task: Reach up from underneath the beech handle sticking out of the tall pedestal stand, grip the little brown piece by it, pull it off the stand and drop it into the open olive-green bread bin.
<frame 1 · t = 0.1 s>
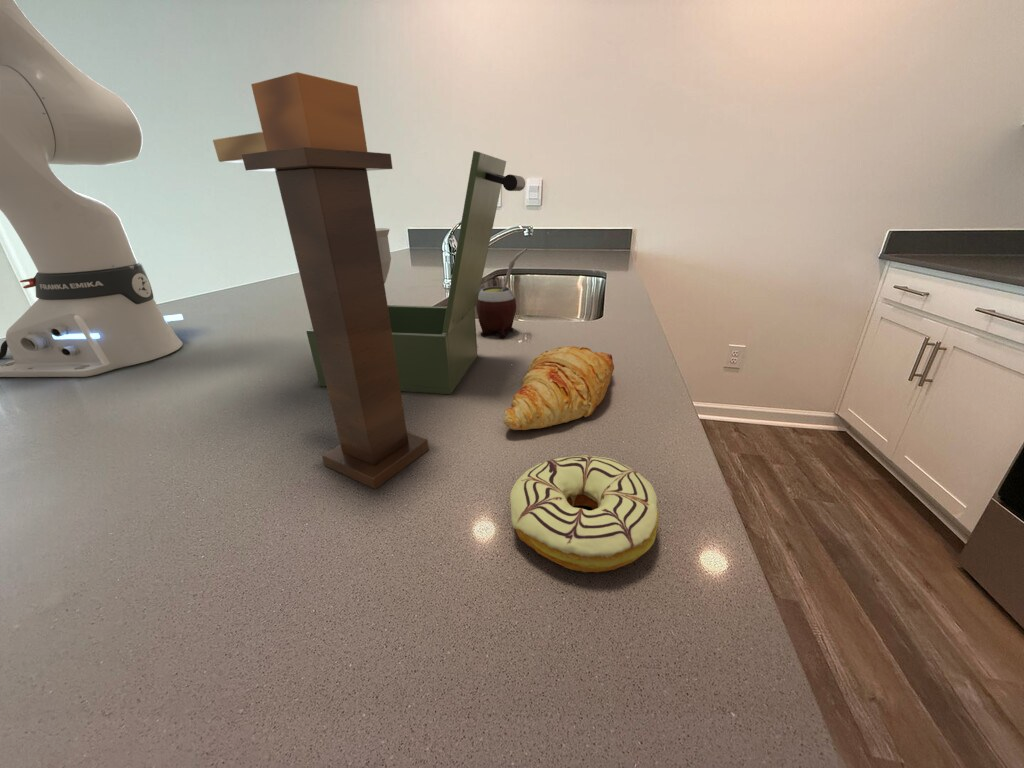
croissant: (562, 402, 50), on the countertop
brown piece: (297, 156, 30), point 26 cm above the countertop, touching pedestal stand
bin lid: (489, 248, 50), point 17 cm above the countertop, hinge at 105.0°
decorated donut: (581, 526, 31), on the countertop
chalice: (385, 333, 76), on the countertop
mate gourd: (500, 334, 74), on the countertop
pedestal stand: (378, 457, 40), on the countertop
bread bin: (404, 369, 60), on the countertop
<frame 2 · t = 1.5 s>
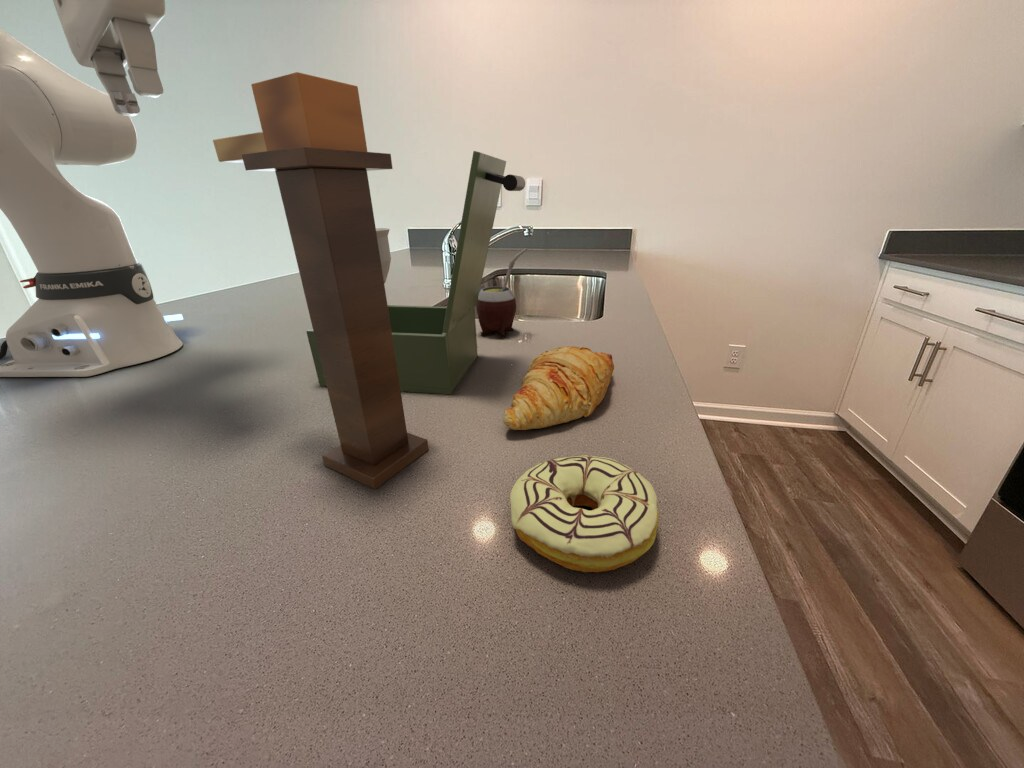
hand: (139, 105, 38), 31 cm above the countertop, tool pointing down, fingers open, 8 cm apart
nothing on the countertop moved.
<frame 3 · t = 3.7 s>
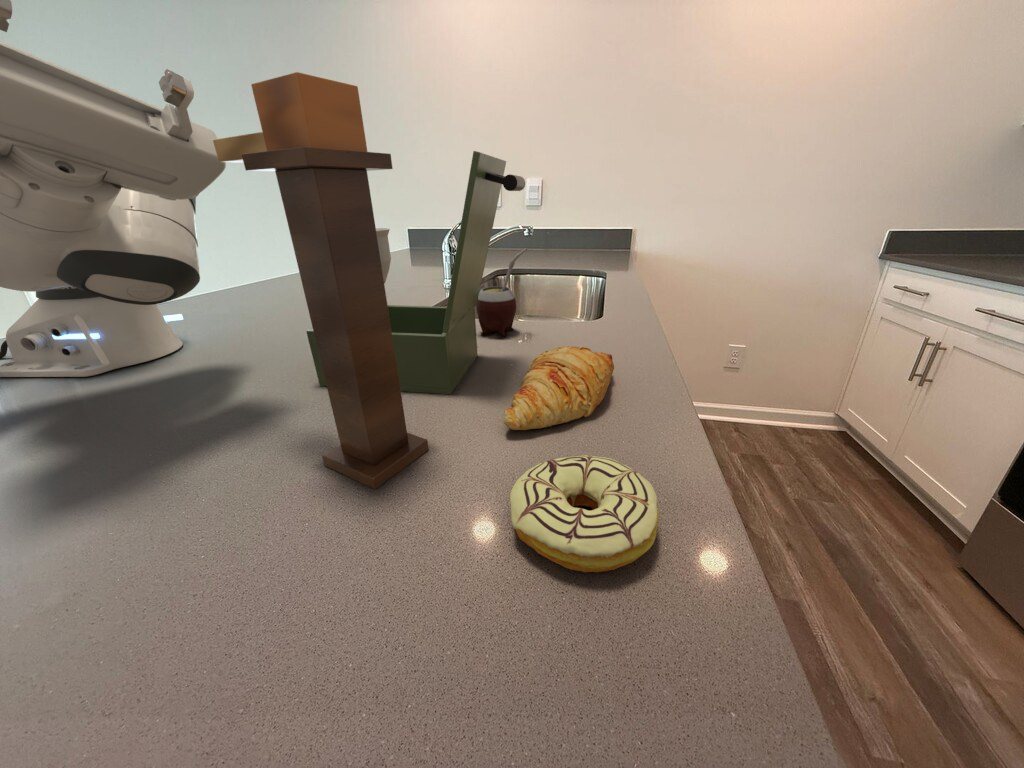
hand: (100, 41, 28), 33 cm above the countertop, tool pointing upward, fingers open, 8 cm apart
nothing on the countertop moved.
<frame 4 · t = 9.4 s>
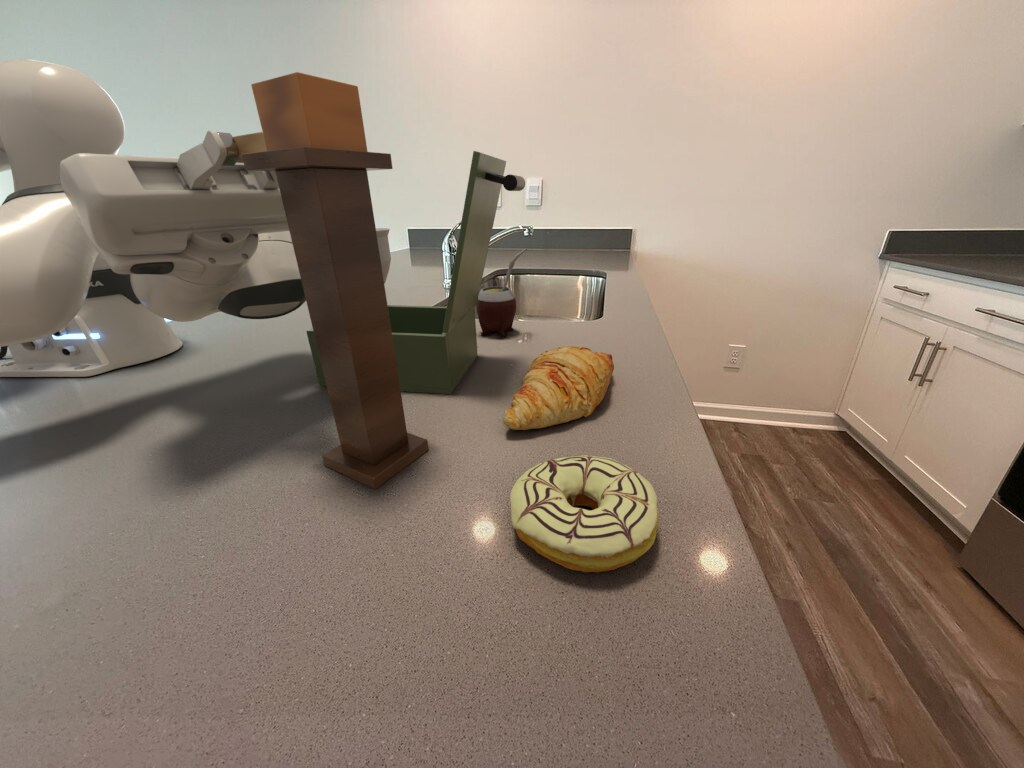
hand: (249, 142, 32), 27 cm above the countertop, tool pointing upward, fingers closed on brown piece, 2 cm apart
brown piece: (297, 156, 30), point 26 cm above the countertop, touching gripper, pedestal stand
everything else where it was.
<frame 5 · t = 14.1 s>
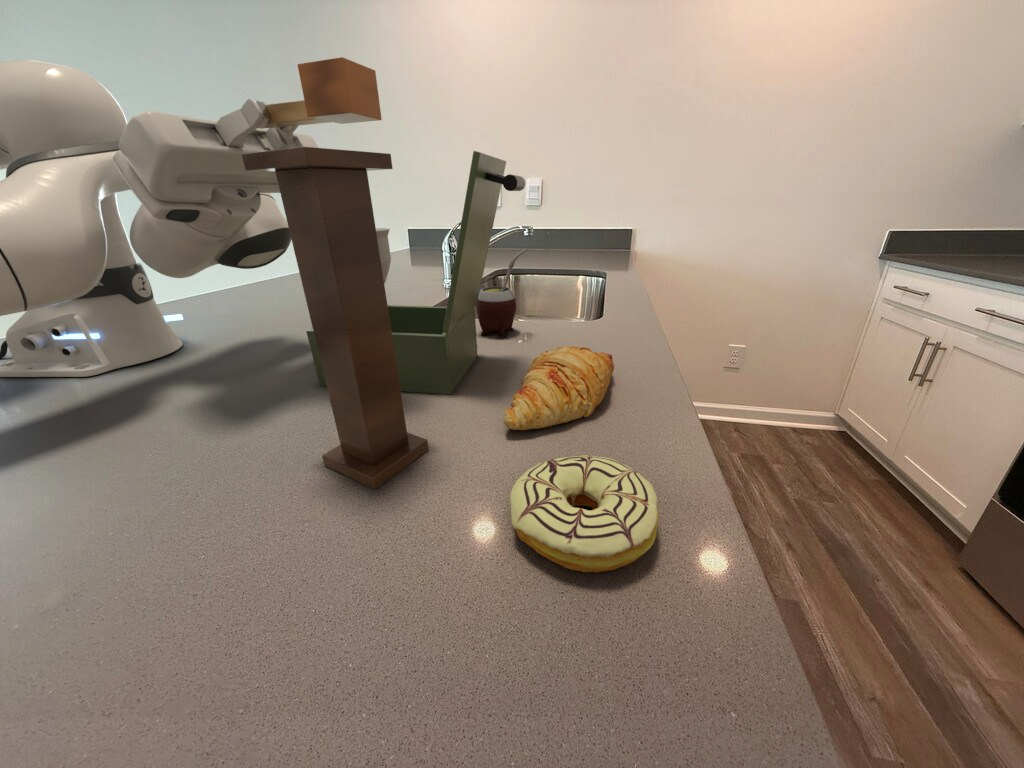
hand: (276, 110, 41), 31 cm above the countertop, tool pointing upward, fingers closed on brown piece, 2 cm apart
brown piece: (324, 120, 40), point 30 cm above the countertop, touching gripper
everything else where it was.
when the fingers open (19 cm above the countertop, at t = 19.1 s): brown piece drops 17 cm, resting on bread bin.
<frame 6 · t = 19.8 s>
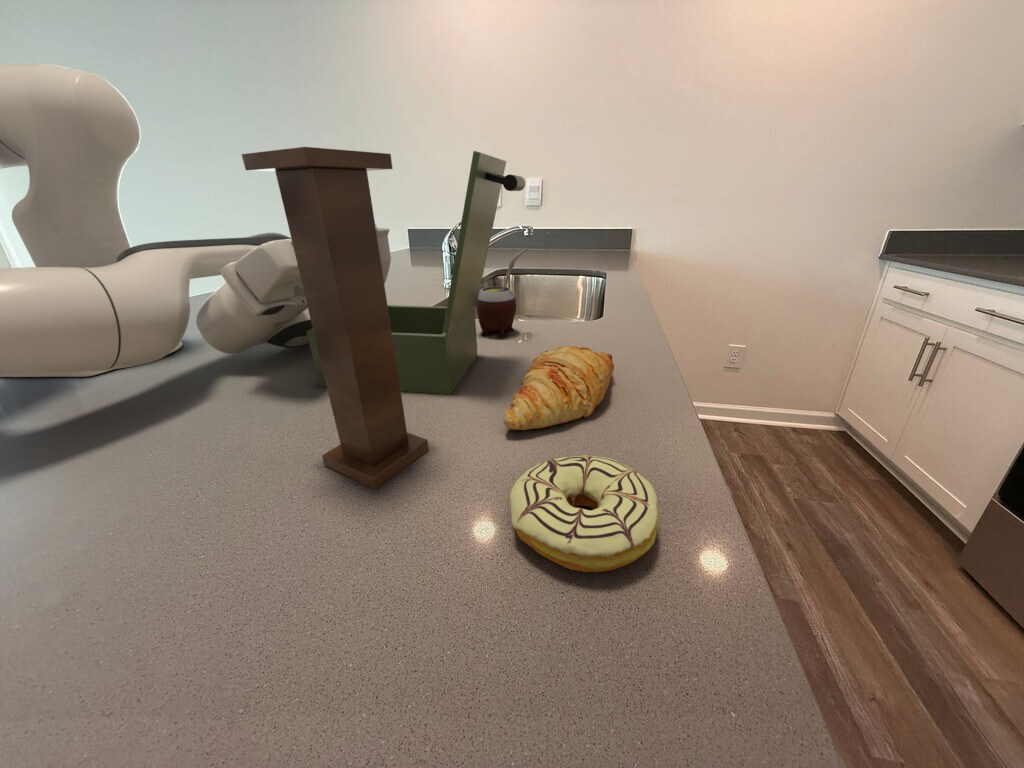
hand: (355, 226, 51), 20 cm above the countertop, tool pointing upward, fingers open, 8 cm apart
brown piece: (404, 369, 58), point 1 cm above the countertop, touching bread bin
everything else where it was.
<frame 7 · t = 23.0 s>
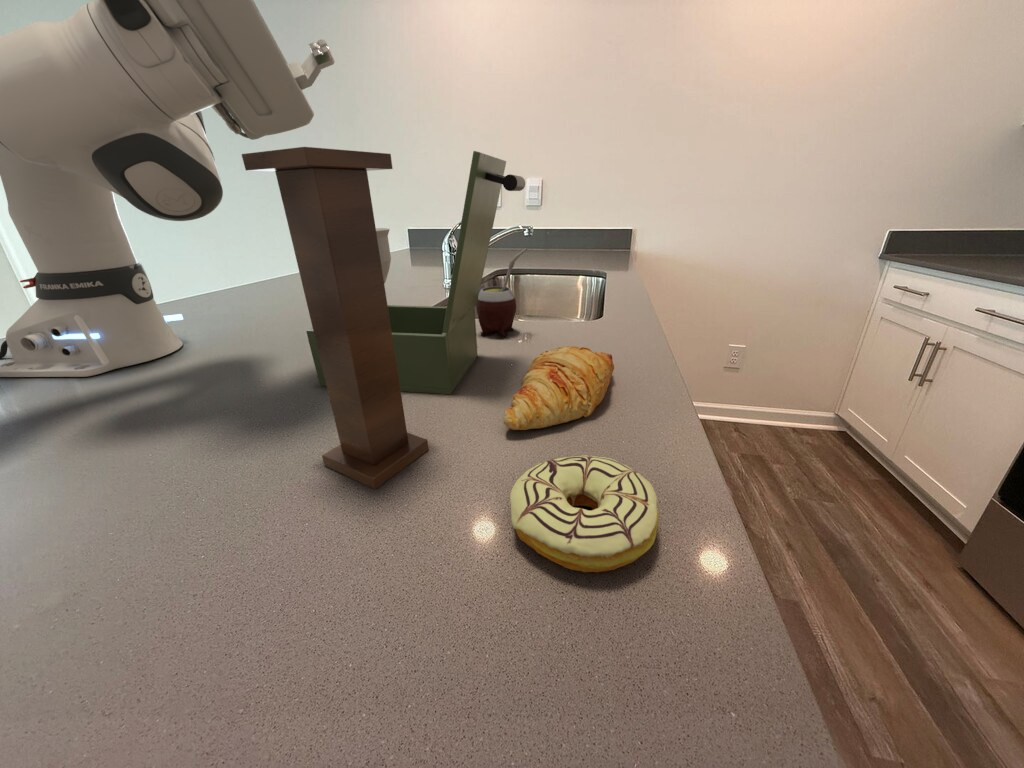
hand: (308, 0, 39), 40 cm above the countertop, tool pointing upward, fingers open, 8 cm apart
nothing on the countertop moved.
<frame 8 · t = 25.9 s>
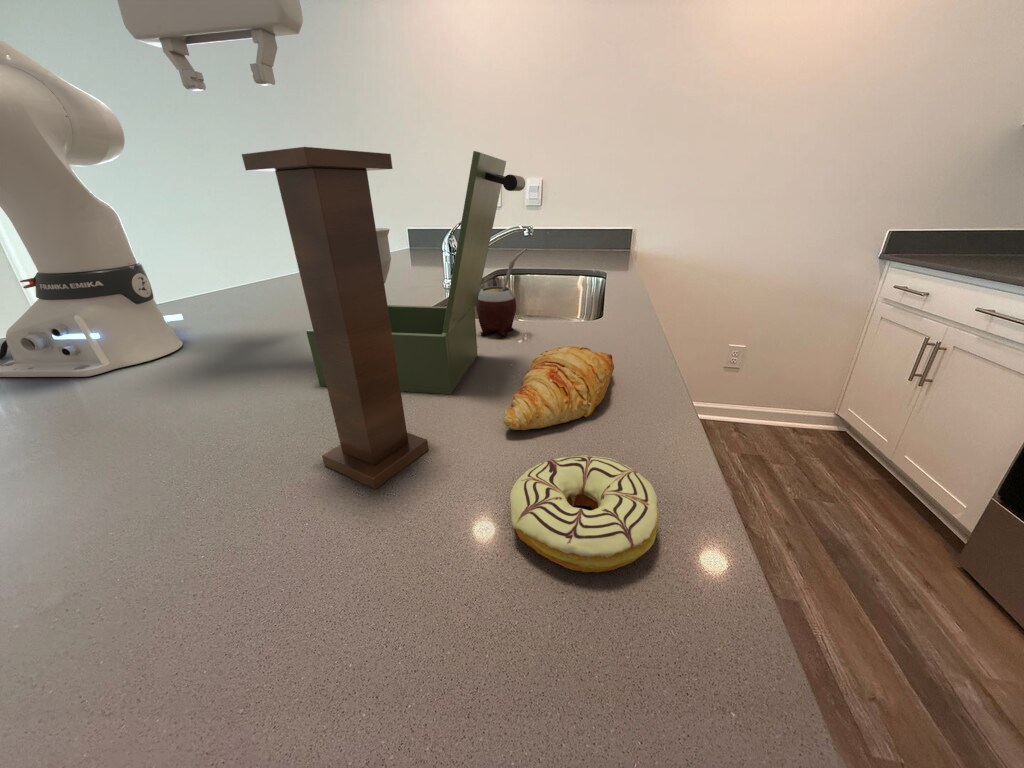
hand: (230, 87, 48), 35 cm above the countertop, tool pointing down, fingers open, 8 cm apart
nothing on the countertop moved.
at the end: brown piece inside the target area in the bread bin (1.6 cm from its centre), point 0.8 cm above the bread bin's base; brown piece touching bread bin; the gripper is holding nothing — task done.
